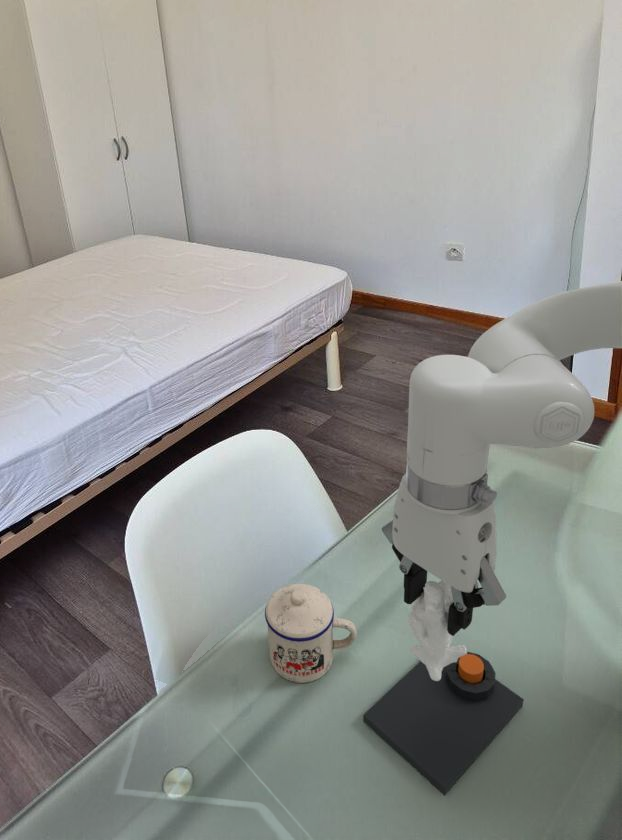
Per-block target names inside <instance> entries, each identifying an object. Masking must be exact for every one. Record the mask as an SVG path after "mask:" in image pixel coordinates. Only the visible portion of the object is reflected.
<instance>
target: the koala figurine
mask: <svg viewBox="0 0 622 840" xmlns="http://www.w3.org/2000/svg"><path fill="white" fill-rule="evenodd" d="M423 589H424V592H423V593H422V594H421V596H420V597H419V598H418V599H416V600H415V601H414V602H413V603H412V606H411V611H410V612H409V614H408V618H407V621H408V626H409V627H410V629H411V631H412V632H413V635H414V637H415V639H416V641H417V642H418V643H419V644H420V645H418V644H417V645H410V646H409V648H408V650H409V653H410V654H411V655H412V656H413V657H414V658H416V659H417V660H419V662H420V661H421V662H422V663H423V664H425V665H426V667H427V670H428V672H429V675H430V678H431V679H432V680H434V681H439V680H440V679H441V672H442V670H443V667H445V666H447V665H449V664H450V663H453V662H457V660H458V658H459V657H461V656H463V655H466V654H467V652H468V648H467V647H466V646H465V645H464V644H457V645H451V644H452V643H453V640H454V638H455V635H454V636H452V635H450V634H449V633H448V631H447V626H448V613H449V606H450V605H451V604H452V603H453V602H454V600H453V596H452V591H451V586H450V585H448V584H447V583H445V582H444V581H442V580H440V581H438V582H437V581H435V580H429V581H427V583H426V584H425V587H423Z"/></svg>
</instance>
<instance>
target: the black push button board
mask: <svg viewBox="0 0 622 840" xmlns="http://www.w3.org/2000/svg"><path fill="white" fill-rule="evenodd" d="M467 654H472V655H475V656H477V657H479V658H480V659H481V660H482V662H483V664H484V671H483V678H482V680H481V681H480V682H479V683H476V684H471V683H467V682H465V681H464V680H462V679H461V677H460V676H459V673H458V667H459V659H460V658H461V657H462V656H461V657H459V658H458V660H457V662H453V663H450V664H449V665H447V666H445V667H443V670H442V672H441V679H440V680H439V681H434V680H432V679H431V678H430V675H429V672H428V670H427V667H426V665H425V664H423V663H422V662H421V661H420V660H419V661H418V663H417V664H416V665H415V666H413V667H412V669H410V670H409V671H408V672H407V673H406V674H405V675H404V676H403V677H402V678H401V679H399V680H398V682H397V683H395V684H394V685H393V686H392V687H391V688H390V689H389V690H388V691H387V692H386V693H385V694H383V695H382V697H381V698H380V699H378V700H377V701H376V702H375V703H374V704H373V705H372V706H371V707H370V708H369V709H368V710H367V711H366V712H365V713H363V716H362V717H363V720H362V721H363V723H364V724H365V725H366V726H367V727H368V728H369V729H371V730H372V731H373V732H374V733H375V734H376V735H377V736H378V737H380V738H381V739H382V740H383V742H385V743H386V744H387V745H388V746H389V747H390V748H391V749H392V750H394V752H395V753H397V754H398V755H399V756H400V757H401V758H402V759H403V760H404V761H406V762H407V763H408V764H409V765H410V766H411V767H412V768H414V769H415V771H417V772H418V773H419V774H420V775H421V776H422V778H424V779H425V780H427V782H429V784H431V785H432V786H433V787H434V788H435V789H437V791H439V792H440V793H441V794H442V796H447V794H448V793H449V791H450V790H452V788H453V787H454V786H455V785H456V784H457V782H458V781H459V780H461V778H462V777H463V776H464V774H465V773H466V772H467V771H468V770H469V769H470V768H471V766H473V764H474V763H475V762H476V761H477V760H478V759H479V757H480V756H481V755H482V754H483V752H485V750H486V749H487V748H488V747H489V746H490V744H491V743H492V742H493V741H494V740H495V739H496V738H497V737H498V735H499V734H500V733H501V732H502V731H503V730H504V729H505V728H506V726H507V725H508V724H509V723H510V721H511V720H513V718H514V717H515V716H516V714H518V713H519V711H520V710H521V709H522V708H523V706H524V698H523V697H521V696H519V695H518V694H517V693H516V692H514V691H513V690H511V689H510V688H509V687H507V686H506V685H504V684H503V683H502V682H500V681H499V680H497V679H496V671H495V669H494V668H493V666H492V663H490V661H489V660H488V659H486V658H485V657H483V656H482V655H480V654H479V653H475V652H471V651H467Z"/></svg>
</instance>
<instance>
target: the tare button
mask: <svg viewBox="0 0 622 840" xmlns="http://www.w3.org/2000/svg"><path fill="white" fill-rule="evenodd" d="M483 671H484V664H483V662H482V660H481V659H480V658H479V657H477V656H475V655H472V654H466V655H463V656H462V657H461V658H460V659H459V667H458V673H459V676H460V677H461V679H462V680H464V681H465V682H467V683H471V684H476V683H479V682H480V681H481V680H482V678H483Z"/></svg>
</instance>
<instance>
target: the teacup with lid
mask: <svg viewBox="0 0 622 840" xmlns="http://www.w3.org/2000/svg"><path fill="white" fill-rule="evenodd" d="M264 618H265V622H266V624H267V635H268V647H269V648H268V649H269V659H270V663H271V666H272V667H273V669H274V671H275V672H276V673H277V674H278V675H279V676H280V677H282V678H283V679H285V680H287V681H290V682H294V683H299V684H302V683H306V684H307V683H310V682H314V681H317V680H318V679H320V678H322V677H323V676H324V675H326V673H328V671H329V670H330V668H331V666H332V664H333V660H334V650H343V649H347V648H350V647H351V646H352V645H353V644H354V643H355V641H356V638H357V628H356V625H355V624H354V623H353V622H352V621H351V620H348V619H347V618H342V617H335V610H334V606H333V603H332V602H331V600H330V598H329V597H328V596H327V595H326V593H325V592H324V591H323V590H321V589H320V588H318V587H315V586H314V585H310V584H306V583H292V584H288V585H285V586H282V587H280V588H278V589H277V590H276V591H275V592H273V594H272V595H271V596H270V597H269V598H268V600H267V602H266V605H265V609H264ZM333 628H341V629H345V630H347V631H349V635H348V636H347V637H345V638H343V639H333V635H334V634H333V633H334V632H333Z"/></svg>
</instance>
